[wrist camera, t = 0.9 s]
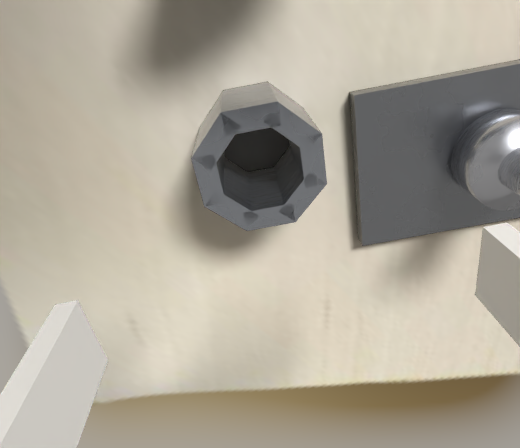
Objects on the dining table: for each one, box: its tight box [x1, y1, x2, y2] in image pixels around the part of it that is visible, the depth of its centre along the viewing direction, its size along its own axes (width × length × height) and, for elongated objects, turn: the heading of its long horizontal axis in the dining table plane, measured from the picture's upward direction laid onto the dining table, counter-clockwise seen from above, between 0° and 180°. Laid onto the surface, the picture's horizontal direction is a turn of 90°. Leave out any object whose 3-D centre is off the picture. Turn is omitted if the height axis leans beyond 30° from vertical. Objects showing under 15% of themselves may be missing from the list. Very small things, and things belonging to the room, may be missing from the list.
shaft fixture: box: [350, 60, 520, 246], centre depth 24 cm, size 12×16×12 cm
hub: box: [191, 82, 327, 231], centre depth 25 cm, size 7×7×6 cm
